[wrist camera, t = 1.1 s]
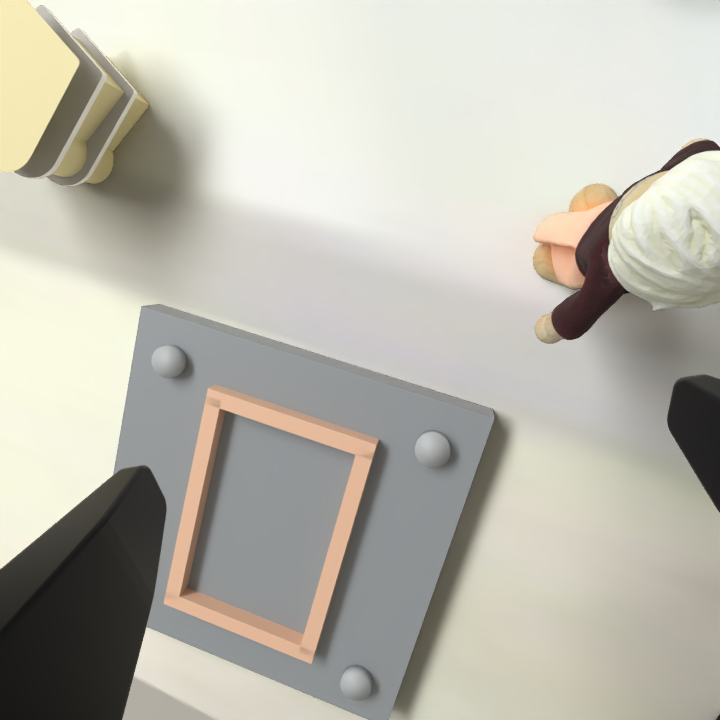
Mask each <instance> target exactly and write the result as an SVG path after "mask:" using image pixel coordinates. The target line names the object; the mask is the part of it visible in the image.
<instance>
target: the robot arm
mask: <svg viewBox="0 0 720 720" xmlns="http://www.w3.org/2000/svg"><path fill="white" fill-rule="evenodd" d="M667 422H668V427H669V430H670V432H671V434H672V435H673V437H674V439H675V440H676V442H677V444H678V445H679V447H680V449H681V450H682V452H683V454H684V455H685V457H686V459H687V460H688V462H689V464H690V465H691V467H692V469H693V470H694V472H695V474H696V475H697V477H698V479H699V480H700V482H701V484H702V485H703V487H704V489H705V490H706V492H707V494H708V495H709V497H710V498H711V500H712V502H713V503H714V505H715V506H716V508H717V509H718V511H719V512H720V379H717V378H714V377H711V376H708V375H696V376H690V377H684V378H680V379H678V380H677V381H676V382H675V384H674V387H673V392H672V397H671V401H670V406H669V411H668V417H667ZM166 512H167V505H166V500H165V497H164V495H163V493H162V491H161V489H160V487H159V485H158V483H157V481H156V479H155V477H154V475H153V473H152V471H151V469H150V468H149V467H148V466H146V465H138V466H132V467H126V468H122V469H120V470H119V471H118V472H117V473H115V474H114V475H113V476H112V477H111V478H109V479H108V480H107V481H106V482H105V483H103V484H102V485H101V486H100V487H99V488H97V489H96V490H95V491H94V492H93V493H91V494H90V495H89V496H88V497H87V498H85V499H84V500H83V501H82V502H81V503H79V504H78V505H77V506H76V507H75V508H73V509H72V510H71V511H70V512H69V513H67V514H66V515H65V516H64V517H63V518H61V519H60V520H59V521H58V522H57V523H55V524H54V525H53V526H52V527H51V528H49V529H48V530H47V531H46V532H45V533H43V534H42V535H41V536H40V537H39V538H37V539H36V540H35V541H34V542H33V543H31V544H30V545H29V546H28V547H27V548H25V549H24V550H23V551H22V552H21V553H19V554H18V555H17V556H16V557H15V558H13V559H12V560H11V561H10V562H9V563H7V564H6V565H5V566H4V567H3V568H1V569H0V720H122V718H123V714H124V710H125V707H126V703H127V698H128V695H129V691H130V687H131V683H132V679H133V676H134V672H135V668H136V664H137V660H138V657H139V653H140V649H141V645H142V641H143V637H144V634H145V630H146V626H147V622H148V618H149V614H150V610H151V606H152V602H153V598H154V592H155V587H156V581H157V574H158V567H159V561H160V554H161V547H162V540H163V533H164V527H165V520H166ZM716 720H720V715H719V716H718V717H717V719H716Z"/></svg>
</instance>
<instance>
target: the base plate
mask: <svg viewBox="0 0 720 720" xmlns="http://www.w3.org/2000/svg"><path fill="white" fill-rule="evenodd" d="M494 419H495V417H494V413H493V409H491V408H488V407H484V406H481V405H478V404H475V403H472V402H469V401H465V400H462V399H459V398H456V397H453V396H449V395H446V394H443V393H440V392H437V391H434V390H430V389H427V388H424V387H421V386H418V385H414V384H411V383H408V382H405V381H402V380H399V379H395V378H392V377H389V376H386V375H383V374H380V373H376V372H373V371H370V370H367V369H364V368H360V367H357V366H354V365H351V364H348V363H345V362H341V361H338V360H335V359H332V358H329V357H325V356H322V355H319V354H316V353H313V352H310V351H306V350H303V349H300V348H297V347H294V346H290V345H287V344H284V343H281V342H278V341H275V340H271V339H268V338H265V337H262V336H259V335H256V334H252V333H249V332H246V331H243V330H240V329H236V328H233V327H230V326H227V325H224V324H221V323H217V322H214V321H211V320H208V319H205V318H201V317H198V316H195V315H192V314H189V313H186V312H182V311H179V310H176V309H173V308H170V307H167V306H163V305H160V304H156V305H147V306H141V312H140V318H139V324H138V330H137V336H136V342H135V348H134V354H133V360H132V366H131V372H130V378H129V384H128V390H127V396H126V402H125V408H124V414H123V420H122V426H121V432H120V438H119V444H118V450H117V456H116V462H115V468H114V474H115V473H117V472H118V471H119V470H120V469H122V468H126V467H132V466H138V465H146V466H148V467H149V468H150V469H151V471H152V473H153V475H154V477H155V479H156V481H157V483H158V485H159V487H160V489H161V491H162V493H163V495H164V497H165V500H166V505H167V512H166V520H165V527H164V533H163V540H162V547H161V554H160V561H159V567H158V574H157V581H156V587H155V592H154V598H153V602H152V606H151V610H150V614H149V618H148V622H147V626H146V627H148V628H151V629H153V630H156V631H158V632H160V633H163V634H165V635H168V636H170V637H172V638H175V639H177V640H179V641H182V642H184V643H187V644H189V645H191V646H194V647H196V648H199V649H201V650H203V651H206V652H208V653H210V654H213V655H215V656H218V657H220V658H222V659H225V660H227V661H230V662H232V663H234V664H237V665H239V666H241V667H244V668H246V669H249V670H251V671H253V672H256V673H258V674H261V675H263V676H265V677H268V678H270V679H272V680H275V681H277V682H280V683H282V684H284V685H287V686H289V687H292V688H294V689H296V690H299V691H301V692H303V693H306V694H308V695H311V696H313V697H315V698H318V699H320V700H323V701H325V702H327V703H330V704H332V705H335V706H337V707H339V708H342V709H344V710H346V711H349V712H351V713H354V714H356V715H358V716H361V717H363V718H366V719H368V720H389V717H390V714H391V711H392V708H393V706H394V703H395V700H396V697H397V694H398V691H399V689H400V686H401V683H402V680H403V677H404V674H405V671H406V669H407V666H408V663H409V660H410V657H411V654H412V652H413V649H414V646H415V643H416V640H417V637H418V635H419V632H420V629H421V626H422V623H423V620H424V617H425V615H426V612H427V609H428V606H429V603H430V600H431V598H432V595H433V592H434V589H435V586H436V583H437V581H438V578H439V575H440V572H441V569H442V566H443V564H444V561H445V558H446V555H447V552H448V549H449V546H450V544H451V541H452V538H453V535H454V532H455V529H456V527H457V524H458V521H459V518H460V515H461V512H462V510H463V507H464V504H465V501H466V498H467V495H468V492H469V490H470V487H471V484H472V481H473V478H474V475H475V473H476V470H477V467H478V464H479V461H480V458H481V456H482V453H483V450H484V447H485V444H486V441H487V438H488V436H489V433H490V430H491V427H492V424H493V421H494ZM114 474H113V475H114Z"/></svg>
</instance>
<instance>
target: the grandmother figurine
mask: <svg viewBox="0 0 720 720" xmlns="http://www.w3.org/2000/svg"><path fill="white" fill-rule="evenodd" d="M534 240H535V241H536V242H539V243H541V244H540V245H539V246H538V248H537V249H536V251H535V253H534V256H533V266H534V268H535V270H536V272H537V273H538V274H539V275H540V276H542V277H543V278H545V279H548V280H550V281H552V282H555V283H558V284H560V285H563V286H565V287H568V288H572V289H580V288H581V290H580V291H578V292H576V293H575V294H573V295H571V296H570V297H568V298H566V299H565V300H564V301H563V302H562V303H560V304H559V305H558V306H557V307H556V308H555V309H554V310H553V311H552V312H550V313H549V314H547V315H545V316H542V317H541V318H540V319H539V320H538V321H537V322H536V325H535V334H536V336H537V338H538V339H539V340H540V341H542V342H544V343H548V344H553V343H555V342H558V341H560V340H561V339H566V340H573V339H576V338H579V337H580V336H582V335H583V334H584V333H585V332H587V331H588V330H589V329H590V328H591V327H592V325H593V324H594V323H595V322H596V321H597V319H598V318H599V317H600V316H601V315H602V314H603V313H604V312H605V311H607V310H608V309H609V308H610V307H611V306H612V305H613V304H614V303H615V302H616V301H617V300H618V299H619V298H620V297H621V296H622V295H623V294H626V293H632V294H634V295H636V296H638V297H640V298H642V299H644V300H647V301H648V302H649V303H650V304H651V305H652V306H653V309H652V310H653V311H656V310H664V309H670V308H675V307H683V308H700V307H704V306H707V305H710V304H715V303H718V302H720V147H719V146H718V145H717V144H716V143H715V142H713V141H710V140H708V139H695V140H692V141H690V142H688V143H687V144H685V145H684V146H683V147H682V149H681V150H680V151H679V152H678V153H676V154H675V155H674V156H673V157H672V158H671V159H670V160H669V161H668V162H667V163H666V164H665V165H664V166H663V167H662V169H661V170H659V171H657V172H655V173H653V174H651V175H649V176H647V177H644V178H643V179H641V180H640V181H637V182H635V183H634V184H632V185H631V186H630V187H629V188H627V189H626V190H625V191H624V192H623V194H622V195H621V196H619V197H617V195H616V193H615V192H614V191H613V189H611V188H610V187H609V186H607V185H604V184H592V185H589V186H587V187H585V188H583V189H582V190H581V191H580V192H578V193H577V194H576V195H575V196H574V198H573V199H572V201H571V204H570V208H569V212H567V213H557V214H554V215H551V216H549V217H548V218H546V219H545V220H543V221H542V222H541V223H540V224H539V225H538V227H537V229H536V230H535V233H534Z"/></svg>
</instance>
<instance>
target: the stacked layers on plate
mask: <svg viewBox="0 0 720 720" xmlns="http://www.w3.org/2000/svg"><path fill="white" fill-rule="evenodd" d="M148 107H149V104H148V103H147V102H146V101H145V100H144V99H143V97H142V96H141V95H140V94H139V93H138V92H137V91H136V90H135V88H134V87H133V86H132V85H131V84H130V83H129V82H128V80H127V79H126V78H125V77H124V76H123V75H122V74H121V72H120V71H119V70H118V69H117V68H116V67H115V66H114V64H113V63H112V62H111V61H110V60H109V59H108V58H107V57H106V56H105V55H104V54H103V53H102V51H101V50H100V49H99V48H98V47H97V46H96V45H95V43H94V42H93V41H92V40H91V39H90V38H89V37H88V35H87V34H86V33H85V32H84V31H82V30H81V29H79V28H77V29H75V30H74V31H73V32H72V33H69V32H68V31H67V29H66V28H65V27H64V26H63V25H62V24H61V23H60V21H59V20H58V19H57V18H56V17H55V16H54V15H53V13H52V12H51V11H50V10H49V9H48V8H46V7H44V6H43V5H40V6H39V7H37V8H36V9H34V8H33V7H32V5H31V4H30V3H29V2H28V1H27V0H0V172H12V171H14V172H15V173H17V174H19V175H21V176H24V177H28V178H33V179H40V178H44V177H47V178H49V179H50V180H52V181H53V182H55V183H57V184H60V185H65V186H77V185H80V184H82V183H84V182H87V183H91V184H96V183H100V182H102V181H104V180H105V179H106V178H107V177H108V176H109V175H110V173H111V171H112V168H113V163H114V156H113V151H114V150H115V148H116V147H117V146H118V145H119V143H120V142H121V141H122V140H123V138H124V137H125V136H126V134H127V133H128V132H129V131H130V129H131V128H132V127H133V126H134V124H135V123H136V122H137V121H138V119H139V118H140V117H141V116H142V114H143V113H144V112H145V111H146V109H147V108H148Z"/></svg>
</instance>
